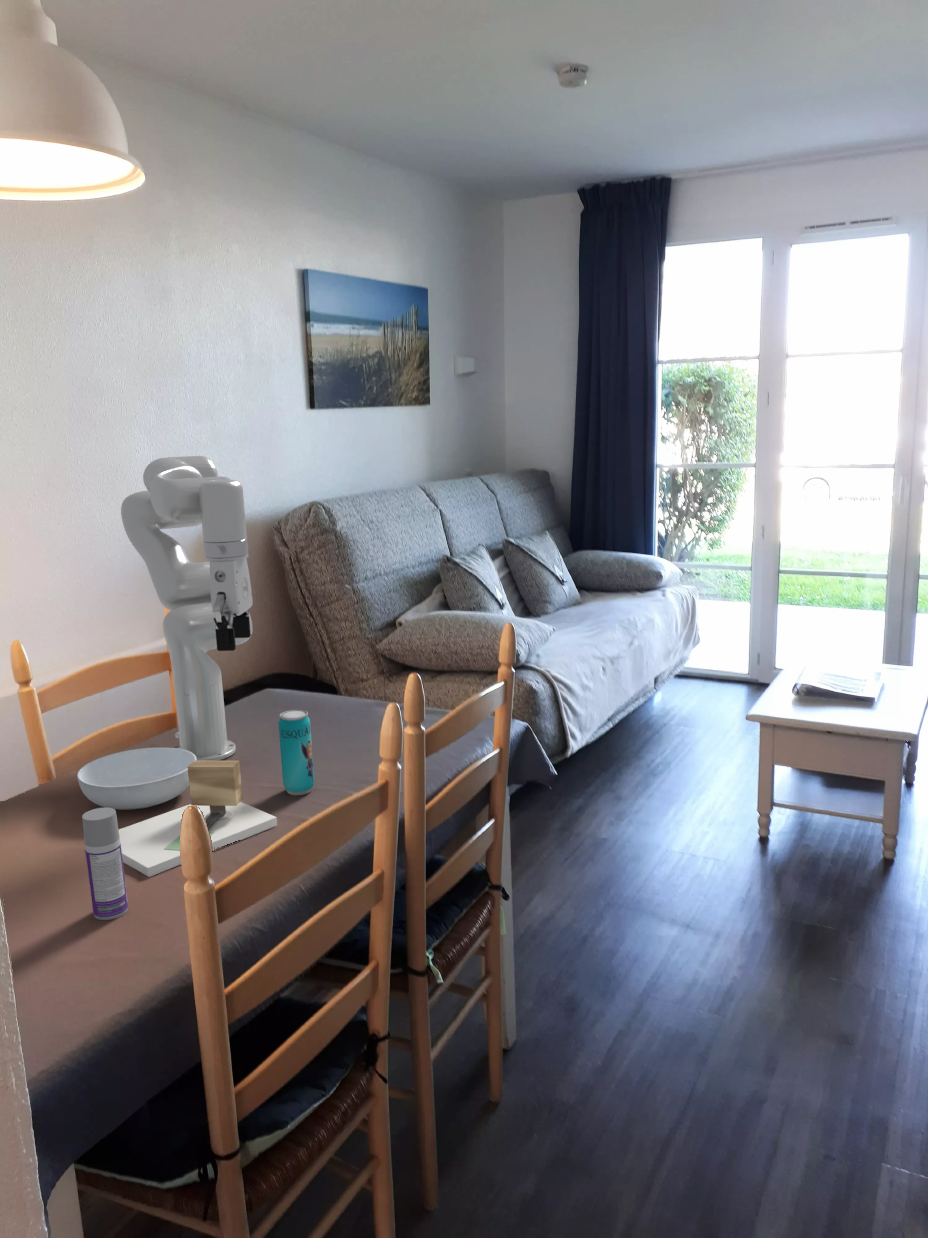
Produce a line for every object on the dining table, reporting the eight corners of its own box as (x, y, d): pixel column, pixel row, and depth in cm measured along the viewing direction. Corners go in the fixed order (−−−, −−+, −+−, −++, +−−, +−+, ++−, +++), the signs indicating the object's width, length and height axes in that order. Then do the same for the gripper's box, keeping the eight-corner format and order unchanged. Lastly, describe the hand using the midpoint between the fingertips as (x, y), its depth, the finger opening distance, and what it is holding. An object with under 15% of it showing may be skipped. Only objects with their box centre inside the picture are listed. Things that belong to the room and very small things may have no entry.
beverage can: (308, 797, 176) (302, 719, 173) (279, 796, 177) (272, 718, 174) (319, 785, 182) (313, 709, 179) (290, 784, 183) (284, 708, 180)
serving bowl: (223, 789, 182) (220, 755, 180) (135, 832, 164) (131, 794, 163) (146, 772, 192) (143, 739, 191) (56, 811, 175) (51, 775, 173)
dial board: (96, 846, 159) (95, 837, 159) (221, 801, 176) (220, 792, 176) (150, 878, 147) (149, 868, 147) (279, 826, 164) (278, 817, 164)
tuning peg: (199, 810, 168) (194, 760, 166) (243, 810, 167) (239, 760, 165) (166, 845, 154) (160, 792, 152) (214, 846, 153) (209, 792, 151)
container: (99, 905, 140) (86, 808, 137) (132, 902, 140) (120, 806, 137) (89, 921, 135) (76, 822, 132) (123, 919, 136) (111, 819, 132)
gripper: (233, 556, 163) (241, 655, 166) (259, 542, 179) (267, 632, 183) (189, 558, 163) (198, 656, 167) (220, 544, 180) (228, 633, 183)
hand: (234, 643), depth 175 cm, fingers open, 9 cm apart
